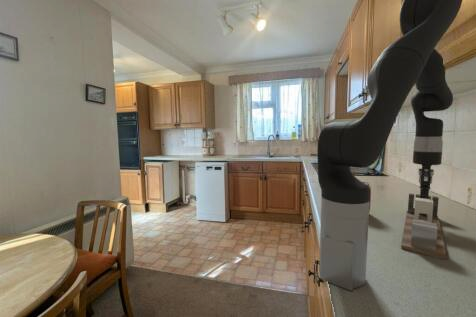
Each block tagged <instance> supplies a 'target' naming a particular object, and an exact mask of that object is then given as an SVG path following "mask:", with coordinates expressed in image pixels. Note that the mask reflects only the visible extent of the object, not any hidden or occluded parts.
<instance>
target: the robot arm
mask: <svg viewBox="0 0 476 317" xmlns="http://www.w3.org/2000/svg"><path fill="white" fill-rule="evenodd" d="M462 3H463V0H403V1H402V4H401V6H400V10H399V28H400V30H401V34H402V36H400V37H399V38H398V39H396V40H394V41H393V42H392V43H391V44H389V45H388V46H387V47H386V48H384V50H382V52H381V54H380V55H379V56H378V58H377V60H375V62H374V64H373V65H372V67H371V69H370V70H369V73H368V76H367V82H366V83H367V89H368V93H369V96H370V99H371V101H370V105H369V106H368V107H367V109H366V110H365V113H364V114H363V116H361V117H360V118H359V119H358V120H346V121H334V122H329V123H327V124H326V125H324V126H323V128H322V129H321V131H320V133H319V136H318V139H317V140H318V141H317V151H316V152H317V179H318V184H319V186H320V190H321V203H320V207H321V208H320V234H319V236H320V237H319V262H318V263H319V264H318V265H319V268H318V269H319V274H320V279H321V280H323V281H325V282H328V283H329V284H333V285H336V286H338V287H341V288H343V289H345V290H348V291H353V290H354V289H355V288H356V289H357V288H359V287H362V286H363V285H365V283H366V280H367V279H366V278H367V259H368V258H367V257H368V256H367V255H368V240H369V239H368V237H369V215H370V212H369V202H370V189H369V187H368V186H367V185H366V184H364V183H363V182H364V181H361V180H360V179H359V178H357V177H356V176H355V175H354V174H353V173H352V170H351V168H357V169H359V168H369V167H371V166H372V165H373V164H375V163H376V161H377V160H378V159H379V158H380V156H381V154H382V153H383V151H384V148H385V146H386V144H387V141H388V139H389V137H390V134H391V132H392V129H393V126H394V124H395V123H396V122H395V121H396V120H397V117H398V115H399V113H400V111H401V110H402V107H403V105H404V103H405V102H406V100H407V97H408V96H409V94H410V92H411V90H412V89H413V87H414V86H415V87H416V90H417V91H416V92H414V93H413V94H412V96H411V99H410V105H411V107H412V108H411V109H412V113H413V115H414V120H415V135H414V136H415V137H414V142H413V151H412V152H413V154H412V164H414V165H415V164H416V165H421V168H418V175H419V176H418V183H419V189H420V190H419V191H420V194H419V195H420V198H424V199H428V196H430V195H429V194H430V192H429V191H430V189H431V185H432V184H433V177H434V173H435V172H434V169H432V166H439V165H441V164H442V160H443V159H442V157H443V144H444V142H443V133H444V121H443V120H442V119H441V118H435V117H428V116H426V115H425V112H426V113H428V112H440V111H441V112H442V111H446V110H448V109H450V107H452V105H453V102H454V96H453V92H452V91H451V88H450V86H449V85H448V83H447V81H446V66H445V67H444V65H443V59H444V57H443V56H442V55H441V53H440V52H439V51H437V49H435V48H436V46H437V45H438V43H439V42H440V40H441V39H442V38H443V36H444V35H445V34H446V32H447V31H448V30H449V28H450V27H451V25H452V24H453V23H454V21H455V20H456V17H457V16H458V13H459V12H460V10H461V6H462ZM442 57H443V58H442ZM370 203H371V202H370Z"/></svg>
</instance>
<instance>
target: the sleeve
mask: <svg viewBox="0 0 476 317" xmlns="http://www.w3.org/2000/svg"><path fill="white" fill-rule="evenodd" d="M414 208H415V212H414V220H419V221H420V220H421V218H420V216H419V213H422V214H427V217H426V221H427V222H430V223H432V215H433V200H432V198H431V199H424V198H415V197H414Z"/></svg>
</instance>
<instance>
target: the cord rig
mask: <svg viewBox="0 0 476 317" xmlns="http://www.w3.org/2000/svg"><path fill="white" fill-rule="evenodd" d="M415 198H420V194H418V193H417V194H414V193H410V192H409V193H408V201H407V202H408V203H407V210H406V214H405V221H404V227H403V233H402V239H401V245H400V248H401V249H402V250H406V251H411V252H415V253H419V254H421V255H427V256H430V257H435V258H439V259H443V260H447V251H446V247H445V242H444V238H443V233H442V228H441V223H440V220H439V215H438V213H439V212H438V210H439V199H440V198H439V196H435V195H428V199H432V200H433V215H432V223H430V222H427V221H426V217H427V214H422V213H419V216H420V218H421V220H420V221H419V220H414V212H415Z"/></svg>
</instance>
